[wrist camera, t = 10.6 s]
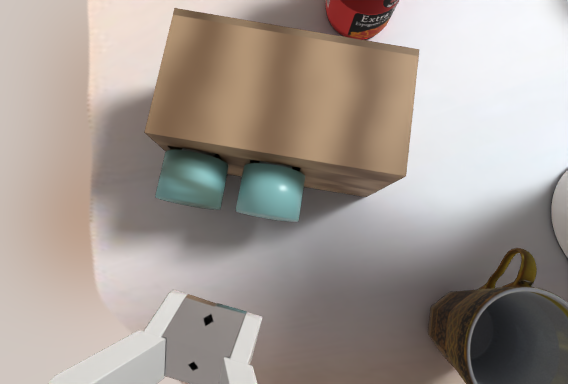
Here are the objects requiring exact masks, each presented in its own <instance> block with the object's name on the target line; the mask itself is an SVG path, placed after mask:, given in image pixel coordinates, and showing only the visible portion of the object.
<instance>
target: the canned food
mask: <svg viewBox="0 0 568 384" xmlns="http://www.w3.org/2000/svg"><path fill="white" fill-rule="evenodd" d="M398 2H399V0H326V12H327V16H328V19H329V22H330V23H331V25H332V26H333V28H334V29H335V30H336V31H337V32H338V33H340V34H341V35H343V36H345V37H348V38H354V39H360V40H364V39H369V38H371V37H373V36H375V35H376V34H378V33H379V32H380V31H381V30H382V29H383V28H384V27H385V26H386V25H387V23H388V21H389V19H390V17H391V15H392V13H393V11H394V10H395V8H396V6H397V4H398Z"/></svg>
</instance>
